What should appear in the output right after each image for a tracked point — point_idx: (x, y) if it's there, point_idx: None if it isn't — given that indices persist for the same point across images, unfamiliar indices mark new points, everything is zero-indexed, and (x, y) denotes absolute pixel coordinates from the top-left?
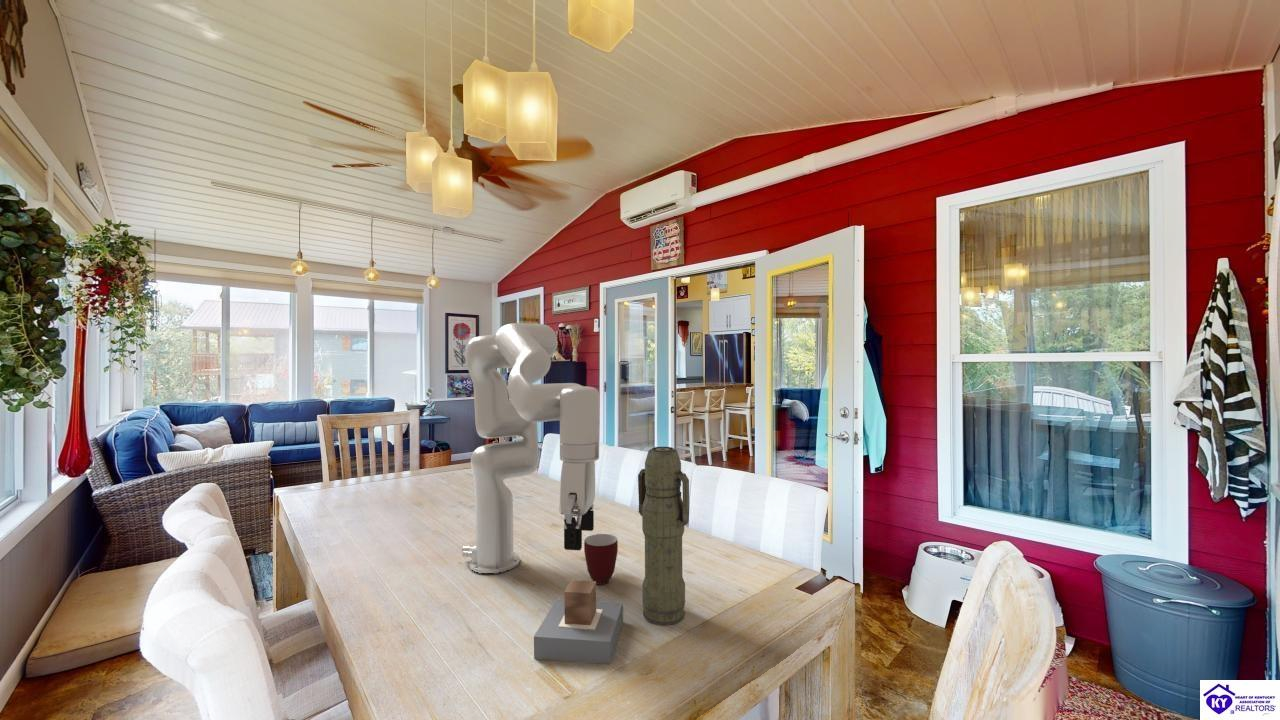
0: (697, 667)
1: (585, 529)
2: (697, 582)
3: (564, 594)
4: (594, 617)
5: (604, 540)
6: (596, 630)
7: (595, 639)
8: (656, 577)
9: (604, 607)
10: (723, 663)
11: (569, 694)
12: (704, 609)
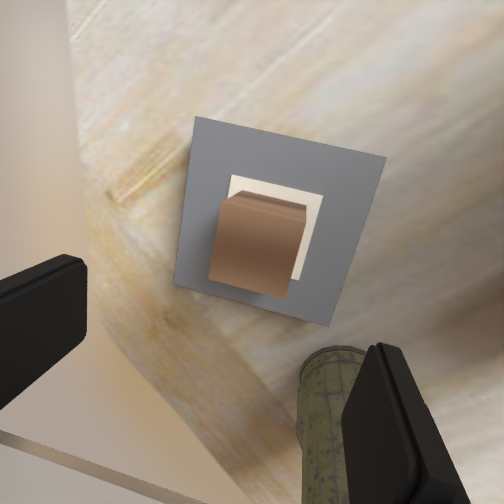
0: (179, 387)
1: (356, 386)
2: (466, 471)
3: (223, 201)
4: None
5: None
6: None
7: (181, 257)
8: (309, 442)
9: (311, 284)
10: (188, 419)
11: (115, 199)
12: None
